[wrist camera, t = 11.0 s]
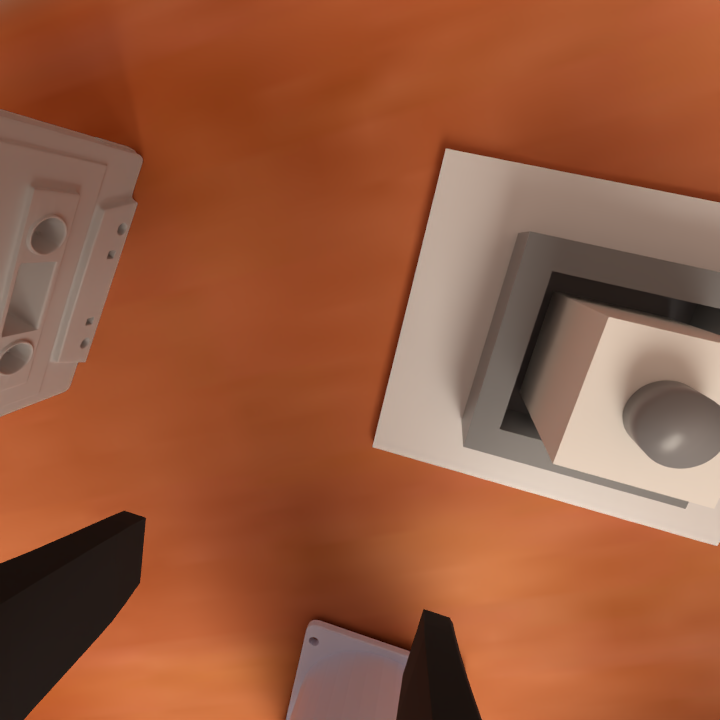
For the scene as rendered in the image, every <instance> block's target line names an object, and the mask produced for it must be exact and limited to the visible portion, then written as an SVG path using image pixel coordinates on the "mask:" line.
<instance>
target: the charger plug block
mask: <svg viewBox="0 0 720 720" xmlns="http://www.w3.org/2000/svg"><path fill="white" fill-rule="evenodd" d="M520 394H521V397H522V399H523V401H524V403H525V405H526V407H527V409H528V412H529V414H530V416H531V418H532V420H533V422H534V424H535V427H536V429H537V431H538V433H539V435H540V437H541V439H542V442H543V444H544V446H545V448H546V450H547V452H548V455H549V457H550V459H551V461H552V463H553V464H555V465H559V466H562V467H566V468H570V469H573V470H577V471H580V472H584V473H588V474H591V475H595V476H598V477H602V478H606V479H609V480H613V481H616V482H620V483H623V484H627V485H631V486H634V487H638V488H641V489H645V490H649V491H652V492H656V493H659V494H663V495H666V496H670V497H674V498H677V499H681V500H684V501H688V502H692V503H695V504H699V505H702V506H706V507H709V508H713V509H714V508H715V506H716V504H717V502H718V500H719V498H720V335H717V334H714V333H711V332H709V331H706V330H703V329H700V328H697V327H694V326H691V325H688V324H685V323H682V322H679V321H676V320H674V319H671V318H667V317H663V316H659V315H654V314H650V313H646V312H641V311H637V310H633V309H628V308H624V307H620V306H615V305H611V304H607V303H603V302H598V301H594V300H590V299H585V298H581V297H577V296H572V295H568V294H564V293H559V292H555V291H554V292H553V294H552V297H551V300H550V303H549V306H548V309H547V312H546V315H545V318H544V321H543V324H542V327H541V330H540V333H539V336H538V339H537V342H536V345H535V348H534V350H533V353H532V356H531V359H530V362H529V365H528V368H527V371H526V374H525V377H524V380H523V383H522V386H521V389H520Z"/></svg>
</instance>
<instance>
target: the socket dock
mask: <svg viewBox="0 0 720 720" xmlns="http://www.w3.org/2000/svg"><path fill="white" fill-rule="evenodd" d="M554 291H555V292H559V293H564V294H568V295H572V296H577V297H581V298H585V299H590V300H594V301H598V302H603V303H607V304H611V305H615V306H620V307H624V308H628V309H633V310H637V311H641V312H646V313H650V314H654V315H659V316H663V317H667V318H671V319H674V320H676V321H679V322H682V323H685V324H688V325H691V326H694V327H697V328H700V329H703V330H706V331H709V332H711V333H714V334H717V335H720V203H719V202H714V201H709V200H704V199H699V198H694V197H689V196H684V195H679V194H674V193H669V192H664V191H659V190H654V189H649V188H644V187H638V186H633V185H628V184H623V183H618V182H613V181H608V180H603V179H598V178H593V177H588V176H583V175H578V174H573V173H568V172H562V171H557V170H552V169H547V168H542V167H537V166H532V165H527V164H522V163H517V162H512V161H507V160H502V159H497V158H492V157H487V156H481V155H476V154H471V153H466V152H461V151H456V150H451V149H446V150H445V154H444V158H443V162H442V166H441V170H440V174H439V178H438V183H437V187H436V191H435V195H434V199H433V203H432V207H431V211H430V215H429V219H428V223H427V227H426V231H425V235H424V239H423V243H422V247H421V252H420V256H419V260H418V264H417V268H416V272H415V276H414V280H413V284H412V288H411V292H410V296H409V300H408V304H407V308H406V312H405V316H404V321H403V325H402V329H401V333H400V337H399V341H398V345H397V349H396V353H395V357H394V361H393V365H392V369H391V373H390V377H389V381H388V385H387V390H386V394H385V398H384V402H383V406H382V410H381V414H380V418H379V422H378V426H377V430H376V434H375V438H374V442H373V446H372V447H374V448H377V449H381V450H384V451H388V452H391V453H395V454H398V455H402V456H405V457H409V458H412V459H416V460H419V461H423V462H426V463H430V464H433V465H437V466H440V467H444V468H447V469H451V470H454V471H458V472H461V473H464V474H468V475H471V476H475V477H478V478H482V479H485V480H489V481H492V482H496V483H499V484H503V485H506V486H510V487H513V488H517V489H520V490H524V491H527V492H531V493H534V494H538V495H541V496H545V497H548V498H551V499H555V500H558V501H562V502H565V503H569V504H572V505H576V506H579V507H583V508H586V509H590V510H593V511H597V512H600V513H604V514H607V515H611V516H614V517H618V518H621V519H625V520H628V521H632V522H635V523H638V524H642V525H645V526H649V527H652V528H656V529H659V530H663V531H666V532H670V533H673V534H677V535H680V536H684V537H687V538H691V539H694V540H698V541H701V542H705V543H708V544H712V545H715V546H718V544H719V542H720V498H719V500H718V502H717V504H716V506H715V508H714V509H713V508H709V507H706V506H702V505H699V504H695V503H692V502H688V501H684V500H681V499H677V498H674V497H670V496H666V495H663V494H659V493H656V492H652V491H649V490H645V489H641V488H638V487H634V486H631V485H627V484H623V483H620V482H616V481H613V480H609V479H606V478H602V477H598V476H595V475H591V474H588V473H584V472H580V471H577V470H573V469H570V468H566V467H562V466H559V465H555V464H553V463H552V461H551V459H550V457H549V455H548V452H547V450H546V448H545V446H544V444H543V442H542V439H541V437H540V435H539V433H538V431H537V429H536V427H535V424H534V422H533V420H532V418H531V416H530V414H529V412H528V409H527V407H526V405H525V403H524V401H523V399H522V397H521V394H520V389H521V386H522V383H523V380H524V377H525V374H526V371H527V368H528V365H529V362H530V359H531V356H532V353H533V350H534V348H535V345H536V342H537V339H538V336H539V333H540V330H541V327H542V324H543V321H544V318H545V315H546V312H547V309H548V306H549V303H550V300H551V297H552V294H553V292H554Z"/></svg>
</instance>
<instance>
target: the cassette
mask: <svg viewBox="0 0 720 720" xmlns="http://www.w3.org/2000/svg"><path fill="white" fill-rule="evenodd" d="M142 163H143V159H142V157H141V156H140V155H139V154H137V153H136V152H135V150H133V149H132V148H130V147H128V146H124V145H121V144H118V143H114V142H111V141H108V140H104V139H101V138H98V137H93V136H89V135H86V134H83V133H79V132H76V131H73V130H69V129H66V128H63V127H59V126H56V125H53V124H49V123H46V122H42V121H39V120H36V119H32V118H29V117H26V116H22V115H19V114H16V113H12V112H9V111H6V110H2V109H0V417H1V416H3V415H6V414H9V413H11V412H14V411H16V410H19V409H21V408H24V407H27V406H29V405H32V404H34V403H37V402H40V401H42V400H45V399H47V398H50V397H52V396H55V395H58V394H60V393H63V392H65V391H66V390H68V389H69V388H70V385H71V382H72V379H73V376H74V373H75V370H76V367H77V364H78V362H86V359H87V356H88V353H89V350H90V347H91V344H92V341H93V338H94V335H95V332H96V329H97V326H98V323H99V320H100V316H101V313H102V310H103V307H104V304H105V301H106V298H107V295H108V292H109V289H110V286H111V283H112V280H113V277H114V274H115V271H116V268H117V265H118V262H119V259H120V256H121V253H122V250H123V247H124V244H125V241H126V238H127V235H128V232H129V229H130V225H131V222H132V219H133V216H134V213H135V210H136V207H137V204H138V203H137V202H136V201H135V200H134V199H133V198H132V195H133V191H134V187H135V184H136V181H137V178H138V175H139V172H140V169H141V166H142Z"/></svg>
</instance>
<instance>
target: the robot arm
mask: <svg viewBox="0 0 720 720" xmlns="http://www.w3.org/2000/svg"><path fill="white" fill-rule="evenodd" d="M145 521H146V518H145V517H142V516H139V515H136V514H133V513H130V512H127V511H123V512H120V513H118V514H115V515H113V516H110V517H108V518H106V519H104V520H101V521H99V522H97V523H94V524H92V525H90V526H88V527H85V528H83V529H81V530H79V531H76V532H74V533H72V534H70V535H67V536H65V537H63V538H61V539H58V540H56V541H54V542H51V543H49V544H47V545H44V546H42V547H40V548H38V549H35V550H33V551H31V552H28V553H26V554H23V555H21V556H18V557H16V558H13V559H11V560H8V561H6V562H3V563H0V720H24V719H25V718H26V717H27V715H28V714H29V713H30V712H31V711H32V710H33V708H34V707H35V706H36V705H37V704H38V703H39V702H40V701H41V700H42V699H43V697H44V696H45V695H46V694H47V693H48V692H49V691H50V690H51V689H52V688H53V686H54V685H55V684H56V683H57V682H58V681H59V680H60V679H61V678H62V677H63V675H64V674H65V673H66V672H67V671H68V670H69V669H70V668H71V667H72V666H73V664H74V663H75V662H76V661H77V660H78V659H79V658H80V657H81V656H82V655H83V653H84V652H85V651H86V650H87V649H88V648H89V647H90V646H91V644H92V643H93V642H94V641H95V640H96V639H97V638H98V637H99V636H100V634H101V633H102V632H103V631H104V630H105V629H106V628H107V626H108V625H109V624H110V623H111V622H112V621H113V619H114V618H115V617H116V615H117V614H118V613H119V611H120V610H121V609H122V607H123V606H124V605H125V603H126V602H127V600H128V599H129V597H130V596H131V595H132V593H133V592H134V590H135V589H136V587H137V586H138V585H139V583H140V577H141V566H142V554H143V543H144V532H145ZM313 637H315V638H317V639H314V638H313ZM286 720H482V719H481V716H480V713H479V710H478V707H477V705H476V702H475V699H474V696H473V693H472V690H471V687H470V684H469V681H468V678H467V674H466V671H465V668H464V664H463V661H462V658H461V654H460V651H459V647H458V643H457V639H456V635H455V631H454V627H453V623H452V621H451V620H450V618H449V617H446V616H443V615H440V614H437V613H434V612H431V611H428V610H423V613H422V616H421V619H420V622H419V625H418V629H417V632H416V635H415V638H414V641H413V644H412V647H411V650H410V651H408V650H405V649H402V648H399V647H396V646H393V645H390V644H387V643H384V642H381V641H378V640H375V639H373V638H370V637H367V636H364V635H361V634H358V633H355V632H352V631H349V630H346V629H343V628H340V627H338V626H335V625H332V624H329V623H326V622H323V621H320V620H312V621H310V622H309V624H308V627H307V629H306V633H305V638H304V642H303V646H302V651H301V655H300V659H299V664H298V668H297V673H296V677H295V681H294V686H293V690H292V694H291V699H290V703H289V707H288V712H287V716H286Z"/></svg>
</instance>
